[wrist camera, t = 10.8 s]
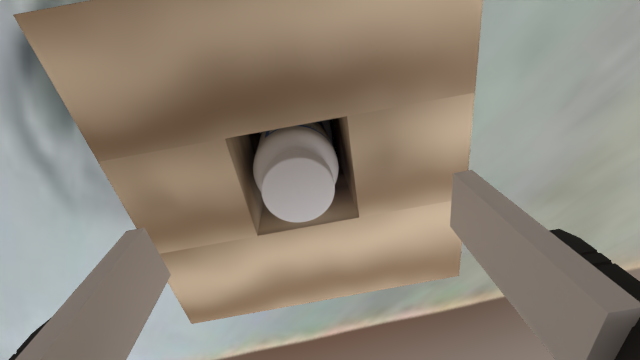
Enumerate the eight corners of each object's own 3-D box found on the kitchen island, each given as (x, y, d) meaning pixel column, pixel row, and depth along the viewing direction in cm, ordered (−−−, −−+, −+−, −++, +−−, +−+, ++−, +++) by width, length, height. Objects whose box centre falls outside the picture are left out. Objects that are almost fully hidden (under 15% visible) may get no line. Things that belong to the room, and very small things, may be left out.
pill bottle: (303, 177, 26) (310, 248, 17) (249, 147, 24) (227, 209, 15) (339, 127, 24) (367, 179, 15) (283, 91, 22) (279, 125, 13)
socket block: (134, 23, 21) (13, 14, 12) (405, -27, 21) (489, -75, 12) (222, 237, 30) (191, 323, 21) (409, 203, 30) (458, 275, 21)
